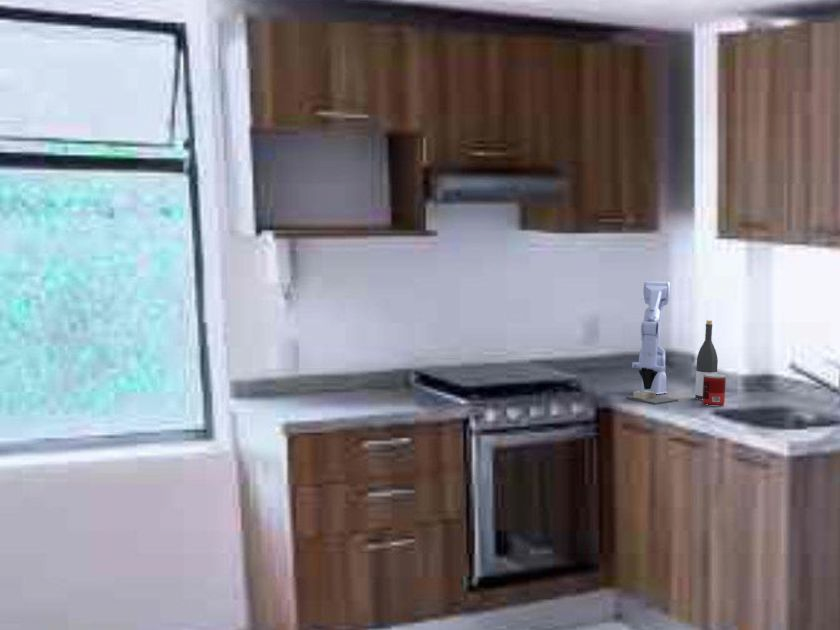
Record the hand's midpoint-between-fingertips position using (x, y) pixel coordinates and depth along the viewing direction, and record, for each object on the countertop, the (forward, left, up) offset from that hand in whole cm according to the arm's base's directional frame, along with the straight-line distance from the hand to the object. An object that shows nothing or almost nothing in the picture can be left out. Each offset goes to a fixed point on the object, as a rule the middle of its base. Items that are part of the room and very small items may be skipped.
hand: (647, 388), depth 383 cm
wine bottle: (-21, +11, -4) cm, 24 cm away
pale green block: (0, +2, -2) cm, 3 cm away
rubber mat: (-1, +2, -4) cm, 4 cm away
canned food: (-14, +20, -4) cm, 24 cm away
